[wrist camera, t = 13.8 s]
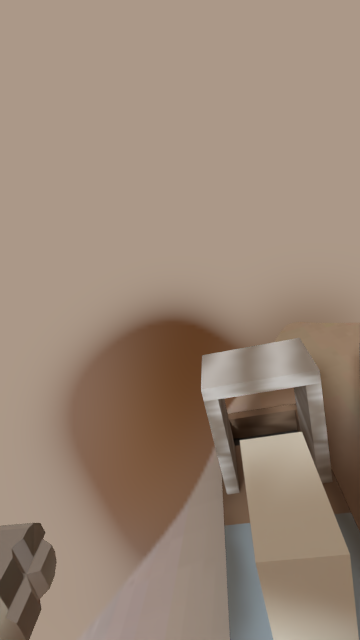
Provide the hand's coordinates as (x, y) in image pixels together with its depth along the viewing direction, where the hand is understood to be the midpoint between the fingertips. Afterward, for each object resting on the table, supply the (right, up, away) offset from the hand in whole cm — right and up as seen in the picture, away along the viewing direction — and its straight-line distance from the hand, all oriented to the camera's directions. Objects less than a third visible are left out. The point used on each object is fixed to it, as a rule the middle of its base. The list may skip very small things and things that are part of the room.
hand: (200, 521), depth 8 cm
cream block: (+10, -18, +23) cm, 31 cm away
